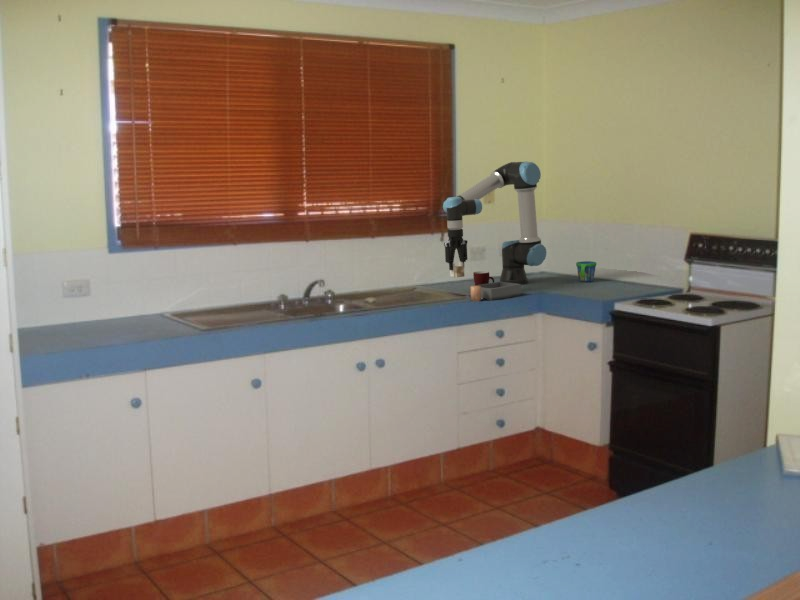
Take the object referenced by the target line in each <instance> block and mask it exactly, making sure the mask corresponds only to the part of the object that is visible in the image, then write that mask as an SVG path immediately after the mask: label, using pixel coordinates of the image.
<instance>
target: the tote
mask: <svg viewBox="0 0 800 600" xmlns="http://www.w3.org/2000/svg"><path fill="white" fill-rule="evenodd" d="M471 286H472V285H471ZM471 286H470V287H469V290H470V295H471ZM474 286H481V297H482V298H485V299H487V301H495V300H501V299H502V300H503V299H507V298H513V297H519V296H522V284H516V283H507V282H500V281H494V283H492V282H489V283H488V284H481V285H475V284H474ZM485 299H484V300H485Z"/></svg>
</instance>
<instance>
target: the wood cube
mask: <svg viewBox="0 0 800 600" xmlns="http://www.w3.org/2000/svg"><path fill="white" fill-rule="evenodd" d="M449 277H450V278H453V277H452V276H451V275H450V274H449ZM462 277H465V265H464V266H459V265H455V277H454V278H456V279H457V278H462Z"/></svg>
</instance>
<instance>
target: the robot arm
mask: <svg viewBox="0 0 800 600" xmlns="http://www.w3.org/2000/svg"><path fill="white" fill-rule="evenodd" d="M541 177H542V176H541V169H540V167H539V166H538V165H537V164H536V163H535V162H533V161H511V162H507V163H506V164H503V165H501V166H500V167H498V168H496V169H495V170H493V171H492V172H491V173H490V174H489V176H487V177H486V178H485V179H482V180H481V181H480V182H477V183H476V184H474V185H473V186H471V187H470V188H468V189H467V190H465V191H463V192H462V193H460V194H458V195H457V196H452V197H451V196H450V197H447V198H446V200H444V201H443V205H442V208H443V212H445V214H446V221H447V222H446V224H447V226H446V227H447V237H448V241H446V242H444V243H443V246H444V257H445V263H446V264H448V266H449V267H448V268H449V276H450V275H451V276H452V277H451V278H455V266H456V263H454V261H455V255H456V250H457V254H458V259H459V261H458V266H464V267H465V263H466V262H467V261H468V239H467V240H466V239H464V238H463V236H464V229H463V227H464V225H463V223H464V222H463V221H464V220H463V216H475V215H480V214H481V212H482V211H483V204H482V201H481V199H482V198H484V197H486V196H487V195H489V194H491V193H492V192H494V191H495V190H498V189H502V188H504V187H506V186H511V185H513V187H514V188H513V189H514V191H516V192H517V200H518V201H517V202H518V216H519V224H520V225H519V227H520V239H518V240H517V239H516V240H507V241H506V240H505V241H503V242H502V245H501V258H502V262H501V263H502V264H501V265H502V269H501V274H500V278H499V282H507V283H516V284H521V285H525V284H528V282H529V281H528V279H529V277H527V272H526V270H525V266H529V267H538V266H540V265H542V264H543V262H544V261H546V260H545V259H546V257H547V248H546V246H545V245H543V244H542V239H541V238H540V237H539V236H538V234H539V233H538V223H537V210H536V199H535V197H536V196H535V190H536V189H537V188H538V185H537V184H538V183H540V180H541Z"/></svg>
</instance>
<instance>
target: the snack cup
mask: <svg viewBox="0 0 800 600" xmlns="http://www.w3.org/2000/svg"><path fill="white" fill-rule="evenodd" d="M575 264H576V268H577V275H578V279H579V282H581V283H591V282H593V281H594V279H595V274H596V267H597V262H596V261H591V260H589V261H587V260H585V261H577V262H576V263H575Z"/></svg>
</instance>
